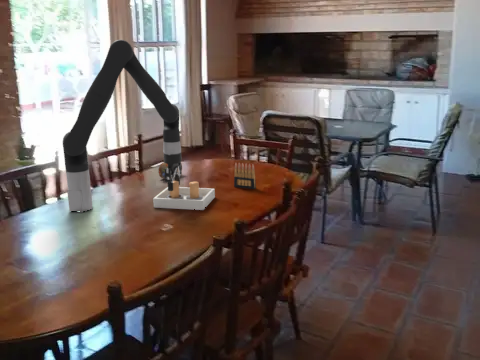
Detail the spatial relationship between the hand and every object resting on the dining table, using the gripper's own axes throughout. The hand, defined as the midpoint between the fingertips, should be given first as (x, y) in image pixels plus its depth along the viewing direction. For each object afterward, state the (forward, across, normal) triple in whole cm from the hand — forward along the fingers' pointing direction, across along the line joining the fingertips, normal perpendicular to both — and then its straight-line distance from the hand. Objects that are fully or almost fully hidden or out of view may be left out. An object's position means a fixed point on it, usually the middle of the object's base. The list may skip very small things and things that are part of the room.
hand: (174, 188), depth 236 cm
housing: (+6, 0, +5) cm, 8 cm away
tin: (+7, -39, -16) cm, 43 cm away
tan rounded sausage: (+5, 0, 0) cm, 5 cm away
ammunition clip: (+6, -26, +26) cm, 37 cm away
